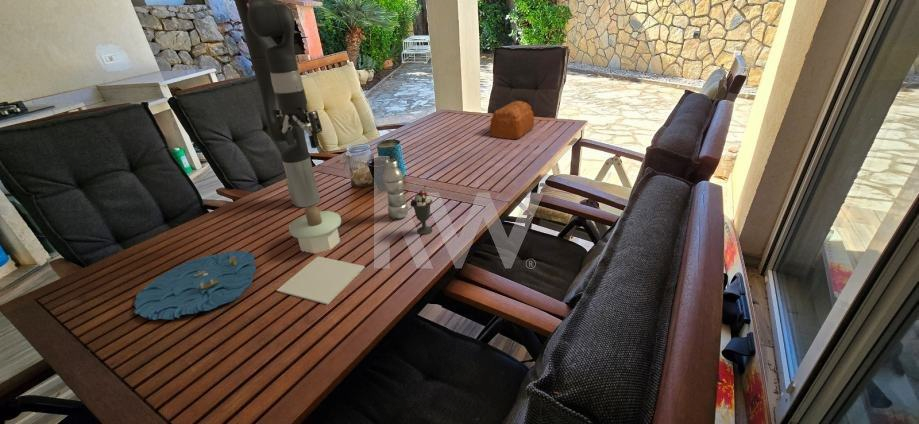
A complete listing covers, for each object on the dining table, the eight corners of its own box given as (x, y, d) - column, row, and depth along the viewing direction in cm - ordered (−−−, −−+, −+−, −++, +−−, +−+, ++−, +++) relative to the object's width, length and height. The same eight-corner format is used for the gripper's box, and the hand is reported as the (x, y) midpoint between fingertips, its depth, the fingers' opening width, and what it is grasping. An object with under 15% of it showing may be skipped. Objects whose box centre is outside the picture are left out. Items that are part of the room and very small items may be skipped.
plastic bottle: (405, 221, 131) (397, 164, 122) (386, 220, 133) (377, 164, 123) (411, 212, 137) (404, 157, 128) (392, 211, 138) (384, 157, 129)
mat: (277, 291, 102) (276, 290, 102) (318, 257, 115) (317, 256, 115) (327, 304, 96) (327, 303, 96) (364, 267, 109) (364, 266, 109)
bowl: (292, 249, 120) (287, 232, 117) (317, 230, 129) (313, 214, 126) (323, 255, 116) (318, 238, 113) (346, 236, 125) (343, 219, 122)
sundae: (438, 226, 127) (434, 183, 120) (430, 237, 122) (425, 192, 115) (419, 224, 129) (414, 181, 122) (410, 234, 124) (405, 190, 117)
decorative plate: (173, 344, 88) (163, 327, 85) (116, 301, 102) (106, 285, 100) (286, 273, 109) (281, 257, 107) (226, 246, 124) (220, 231, 122)
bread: (535, 127, 220) (536, 100, 213) (518, 140, 201) (519, 111, 194) (506, 124, 227) (507, 98, 220) (488, 137, 209) (487, 108, 202)
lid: (278, 234, 116) (273, 217, 114) (312, 211, 128) (308, 196, 126) (319, 242, 111) (315, 225, 108) (351, 217, 123) (348, 201, 120)
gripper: (258, 90, 106) (274, 148, 114) (300, 93, 101) (314, 153, 109) (278, 84, 112) (293, 139, 120) (319, 86, 107) (331, 143, 115)
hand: (303, 146), depth 114 cm, fingers open, 8 cm apart
